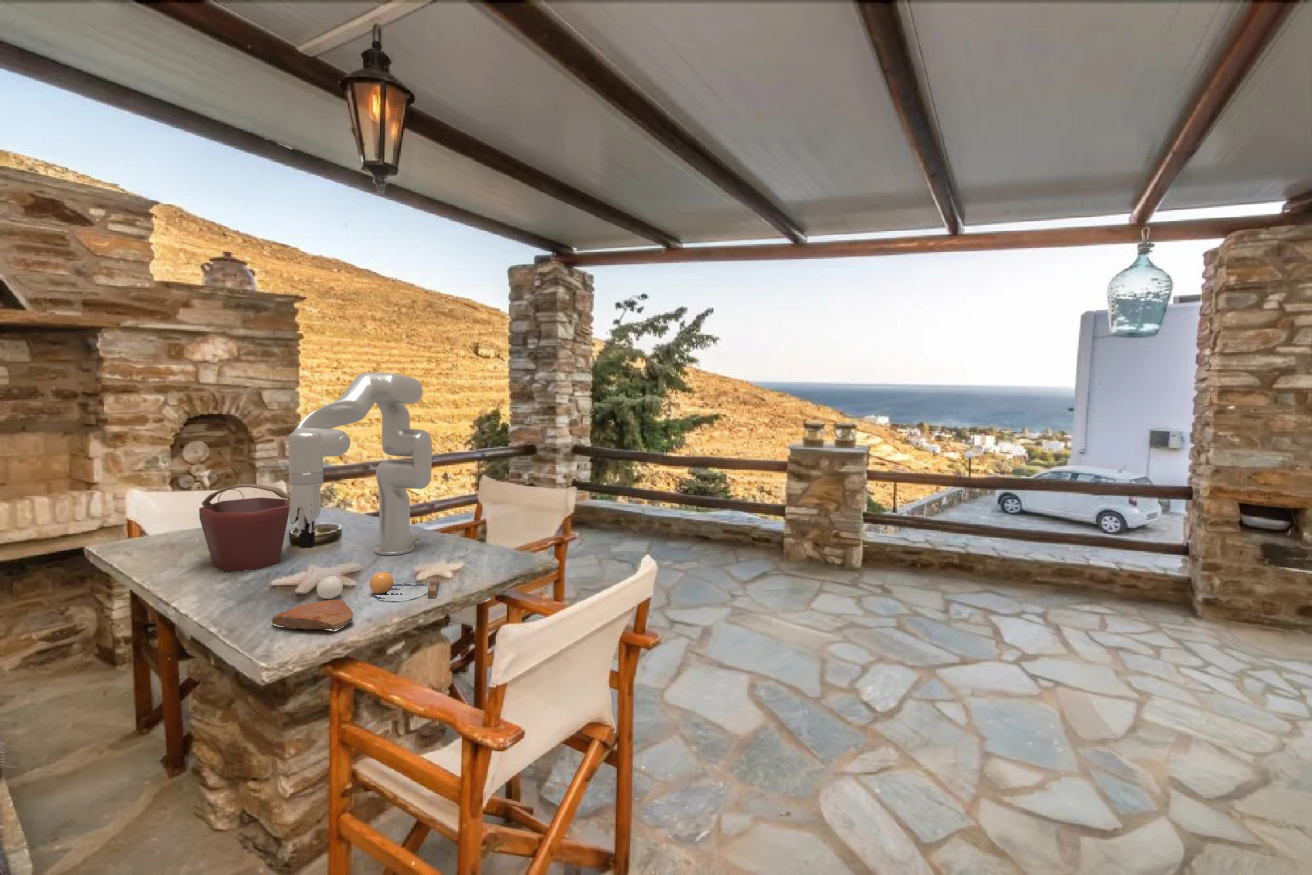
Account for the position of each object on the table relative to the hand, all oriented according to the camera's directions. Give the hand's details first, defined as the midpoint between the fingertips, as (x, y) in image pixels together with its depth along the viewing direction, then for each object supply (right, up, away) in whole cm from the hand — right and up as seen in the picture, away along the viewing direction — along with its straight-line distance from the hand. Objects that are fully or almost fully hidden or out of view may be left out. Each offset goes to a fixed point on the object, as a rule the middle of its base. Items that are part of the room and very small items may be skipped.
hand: (307, 546), depth 144 cm
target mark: (+21, -14, +8) cm, 27 cm away
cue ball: (+5, -11, +2) cm, 12 cm away
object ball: (+16, -11, +7) cm, 21 cm away
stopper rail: (+29, -15, +11) cm, 34 cm away
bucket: (-34, -11, +25) cm, 44 cm away
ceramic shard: (+11, -17, -14) cm, 24 cm away
